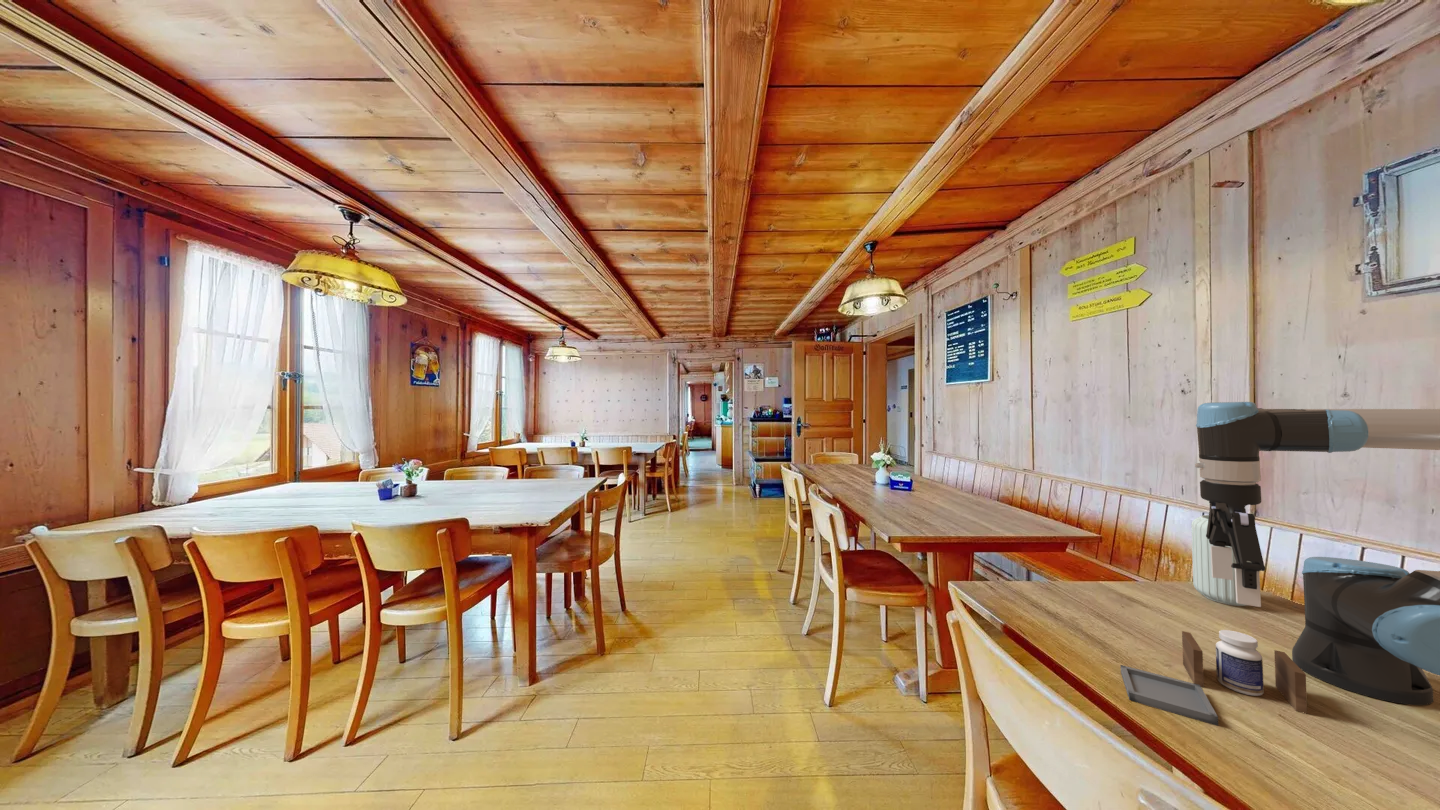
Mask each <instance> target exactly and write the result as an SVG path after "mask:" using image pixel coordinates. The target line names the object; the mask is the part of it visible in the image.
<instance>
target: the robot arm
mask: <svg viewBox="0 0 1440 810" xmlns="http://www.w3.org/2000/svg"><path fill="white" fill-rule="evenodd" d="M1196 411H1197V413H1196V425H1195V426H1196V433H1197V442H1198V443H1197V445H1198V461H1199V462H1197V463H1196V462H1195V464H1194V467H1195V468H1197V469H1199V477H1200V478H1202V480H1201V481H1199V491H1200V492H1199V493H1200V498H1201V499H1202V500H1204V501H1208V503H1209V511H1208V512H1209V513H1208V515H1209V518H1208V526H1207V534H1206V537H1207V539H1209V543H1210V544H1212V545H1210V549H1211V569H1212V577H1213V578H1220V579H1227V580H1233V571H1232V568H1235V589H1236V602H1237V603H1238V604H1245V605H1247V606H1252V607H1257V608H1261V607H1262V599H1261V578H1260V577H1261V576H1260V572H1261V571H1262V572H1265V570H1266V566H1265V563H1264V558H1263V553H1262V550H1261V545H1260V541H1259V540H1260V539H1259V537H1258V532H1257V529H1256V528H1257V527H1256V516H1255V514H1254V513H1247V510H1246V506H1257V505H1260V504H1261V503H1262V488H1261V485H1259V484H1258V482H1261V481H1262V475H1261V461H1260V460H1261V459H1260V451H1261V452H1308V453H1310V452H1312V453H1313V452H1314V453H1315V452H1319V453H1320V452H1321V453H1328V454H1332V453H1338V452H1339V453H1344V452H1355V451H1358V450H1360V449H1362V448H1365V449H1368V448H1369V449H1391V450H1392V449H1394V450H1395V449H1396V450H1397V449H1400V450H1425V451H1427V450H1428V451H1430V450H1431V451H1432V450H1433V451H1440V408H1300V409H1297V408H1262V407H1261V408H1259V407H1258V406H1257V404H1256V403H1255V402H1253V401H1219V402H1203V403H1202V404H1200V405H1199V406H1198V407H1197V410H1196ZM1225 546H1231V547H1232V550H1233V553H1234V557H1235V560H1236V563H1233V564H1232V550H1231V548H1230V547H1225ZM1247 561H1250V562H1247ZM1251 562H1252V563H1251ZM1302 567H1303V569H1302V571H1301V575H1302V576H1303V577H1302V578H1303V579H1302V580H1303V581H1302V583H1303V600H1304V622H1305V626H1304V628H1303V630H1302V632H1301V633H1300V634H1299V636H1298V639H1297V641H1296V642H1295V644H1294V645H1293V647H1292V650H1291V657H1292V658H1291V659H1292V661H1293V662H1294V663H1295V664H1296V665H1297V666H1298V667H1299V668H1300V669H1301V670H1302V671H1303V672H1304V673H1307V674H1309V675H1311V676H1313V677H1315V678H1317V679H1319V680H1320V681H1321V680H1322V681H1323V682H1326V683H1328V684H1330V685H1332V686H1336V687H1338V688H1341V689H1344V690H1347V691H1350V692H1353V693H1356V694H1360V695H1362V696H1366V697H1370V698H1373V699H1374V698H1375V699H1376V700H1382V701H1388V702H1390V703H1391V702H1392V703H1398V704H1403V705H1410V706H1412V705H1413V706H1426V705H1431V704H1433V702H1434V689H1433V685H1432V684H1431V683H1430V681H1429V679H1428V676H1427V675H1426V673H1425V672H1424V671H1426V672H1429V673H1431V674H1433V675H1437V676H1440V570H1425V569H1415V570H1413V571H1411V572H1409V571H1408V570H1406V569H1405V568H1403V567H1398V566H1395V565H1391V564H1384V563H1378V562H1372V561H1366V560H1357V559H1350V558H1349V559H1348V558H1343V557H1341V558H1339V557H1333V556H1332V557H1330V556H1328V557H1327V556H1311V557H1307V558H1305V559H1304V561H1303V566H1302Z"/></svg>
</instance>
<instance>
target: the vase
mask: <svg viewBox="0 0 1440 810" xmlns="http://www.w3.org/2000/svg"><path fill="white" fill-rule="evenodd" d="M1208 518H1209V514H1203V515H1200V516H1198V517H1196V518H1194V519H1193V520H1192V521H1191V527H1190V528H1191V554H1192V555H1191V557H1192V558H1191V559H1192V583H1193V587H1194V589H1195V590H1196V591H1197V592H1198V593H1199V594H1201V595H1202V596H1204V597H1205V598H1206V599H1208V600H1211V601H1214V602H1216V603H1220V604H1224V605H1229V606H1233V607H1234V606H1235V607H1246V606H1248V605H1245V604H1238V603H1237V602H1236V589H1235V568H1232V571H1233V580H1227V579H1220V578H1213V577H1212V569H1211V549H1210V545H1212V544H1210V543H1209V539H1207V537H1206V534H1207V526H1208ZM1225 547H1230V548H1231V550H1232V547H1231V546H1225ZM1247 562H1250V561H1247ZM1233 563H1236V560H1235V557H1234V553H1233V550H1232V564H1233ZM1251 563H1252V562H1251Z"/></svg>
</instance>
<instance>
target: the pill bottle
mask: <svg viewBox="0 0 1440 810" xmlns="http://www.w3.org/2000/svg"><path fill="white" fill-rule="evenodd" d="M1218 638H1219V639H1220V640H1219V641H1217V642H1216V643H1215V663H1216V664H1215V665H1216V667H1215V668H1216V680H1217V681H1218V682H1219V684H1221V685H1223V686H1224V687H1226V688H1228V689H1229V690H1231V691H1235V692H1237V693H1239V694H1243V695H1247V696H1253V697H1254V696H1255V697H1256V696H1257V697H1259V696H1262V695H1263V694H1264V688H1265V687H1264V686H1265V685H1264V668H1263V667H1264V665H1263V664H1264V663H1263V656H1262V654H1261V653H1260V652H1259V651H1258V650H1257V649H1258V648H1259V643H1258V642H1259V641H1258V640H1257V638H1255V637H1253V636H1251V635H1249V634H1247V633H1244V632H1239V631H1235V630H1229V629H1220V630H1219V631H1218Z"/></svg>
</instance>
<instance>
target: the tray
mask: <svg viewBox="0 0 1440 810" xmlns="http://www.w3.org/2000/svg"><path fill="white" fill-rule="evenodd" d="M1120 675H1121V678H1122V680H1123V683H1124V687H1125V690H1126V691H1125V692H1126V693H1127V697H1129V698H1128V701H1130V700H1131V702H1134V701H1135V702H1134V703H1137V702H1138V704H1141V705H1145V706H1148V707H1152V708H1154V709H1155V708H1156V709H1158V710H1161V711H1166V712H1169V713H1172V714H1176V715H1179V716H1182V717H1186V718H1190V719H1193V720H1195V721H1196V720H1197V721H1200V722H1204V723H1207V724H1210V725H1214V726H1217V727H1218V726H1219V716H1218V714H1217V713H1216V711H1215V709H1214V707H1213V706H1212V704H1211V703H1210V700H1209V698H1208V696H1207V695H1206V694H1205V692H1204V690H1203V687H1201V686H1200V685H1198V684H1194V683H1193V682H1189V681H1186V680H1182V679H1179V678H1178V679H1177V678H1173V677H1170V676H1166V675H1163V674H1159V673H1158V674H1157V673H1154V672H1150V671H1146V670H1144V669H1138V668H1135V667H1134V668H1133V667H1130V666H1127V665H1123V664H1120Z"/></svg>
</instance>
